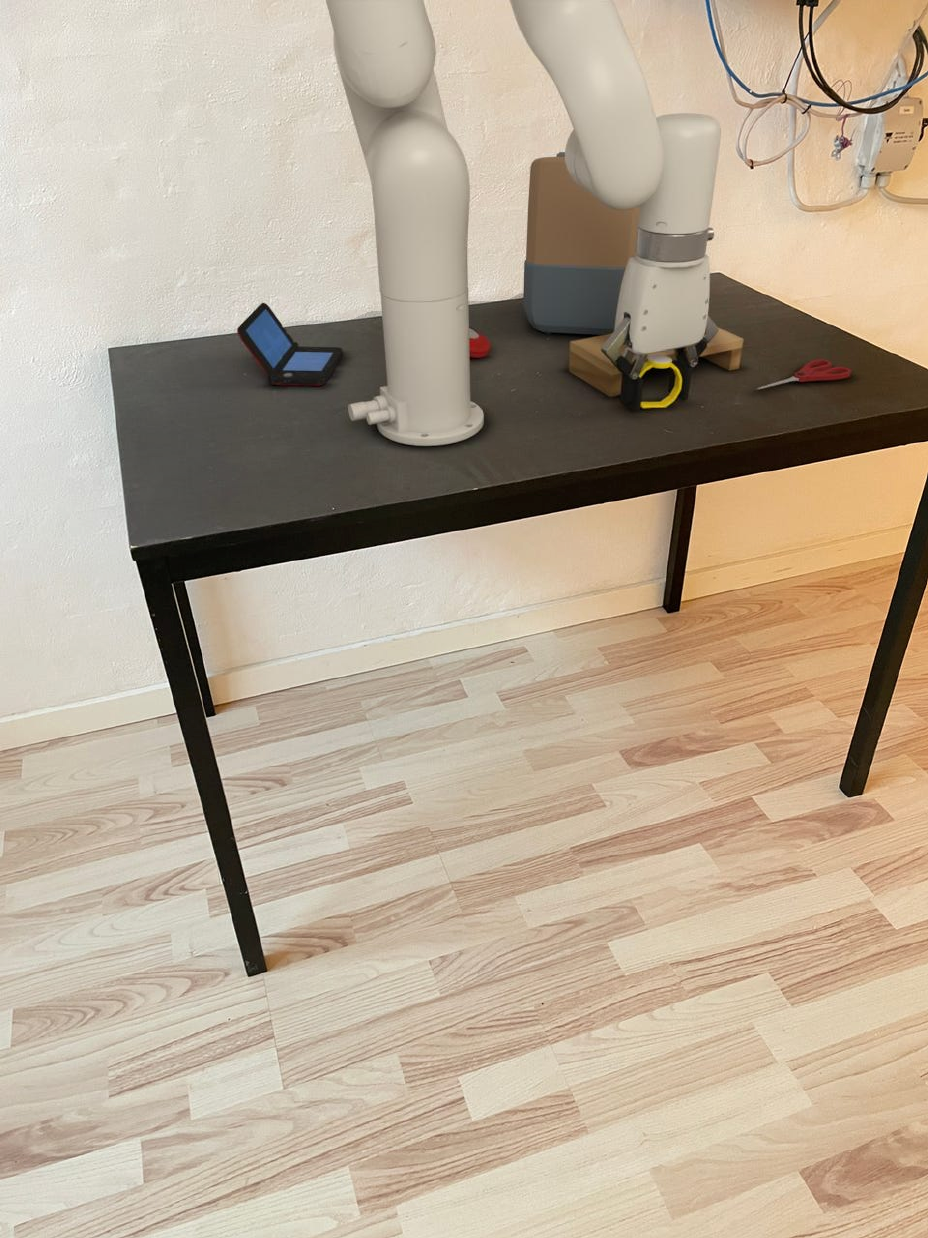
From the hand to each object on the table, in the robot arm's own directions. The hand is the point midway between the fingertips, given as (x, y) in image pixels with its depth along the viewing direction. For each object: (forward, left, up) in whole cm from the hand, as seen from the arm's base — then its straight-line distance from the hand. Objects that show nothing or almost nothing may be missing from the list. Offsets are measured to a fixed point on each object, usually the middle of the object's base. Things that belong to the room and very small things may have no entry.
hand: (654, 400), depth 107 cm
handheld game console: (-35, +33, -1) cm, 48 cm away
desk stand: (+7, +10, -1) cm, 12 cm away
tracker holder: (-12, +30, -1) cm, 32 cm away
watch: (0, 0, -1) cm, 1 cm away
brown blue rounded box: (+9, +31, -1) cm, 32 cm away
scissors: (+20, -2, -1) cm, 20 cm away
